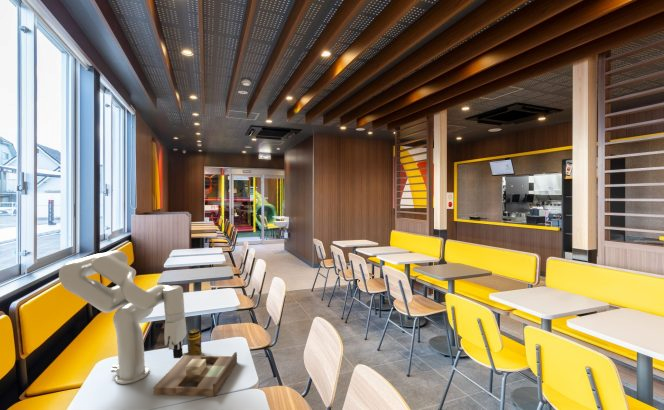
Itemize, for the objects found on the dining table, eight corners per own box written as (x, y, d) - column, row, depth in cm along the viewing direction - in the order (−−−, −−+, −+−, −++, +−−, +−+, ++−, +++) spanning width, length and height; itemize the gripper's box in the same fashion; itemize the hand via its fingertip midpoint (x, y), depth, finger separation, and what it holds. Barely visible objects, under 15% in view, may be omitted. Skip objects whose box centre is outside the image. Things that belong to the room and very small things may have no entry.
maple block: (185, 374, 138) (185, 366, 138) (192, 366, 144) (192, 358, 144) (199, 374, 138) (199, 366, 138) (206, 366, 144) (205, 359, 143)
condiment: (203, 355, 159) (202, 331, 158) (184, 361, 154) (183, 336, 153) (200, 349, 165) (199, 326, 164) (182, 354, 160) (181, 330, 160)
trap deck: (153, 394, 130) (153, 382, 130) (184, 361, 154) (184, 351, 153) (215, 396, 128) (215, 384, 128) (237, 362, 152) (236, 352, 152)
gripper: (175, 308, 147) (178, 348, 149) (156, 323, 132) (159, 367, 134) (192, 308, 147) (195, 348, 148) (174, 322, 132) (177, 367, 133)
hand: (178, 357), depth 141 cm, fingers closed
